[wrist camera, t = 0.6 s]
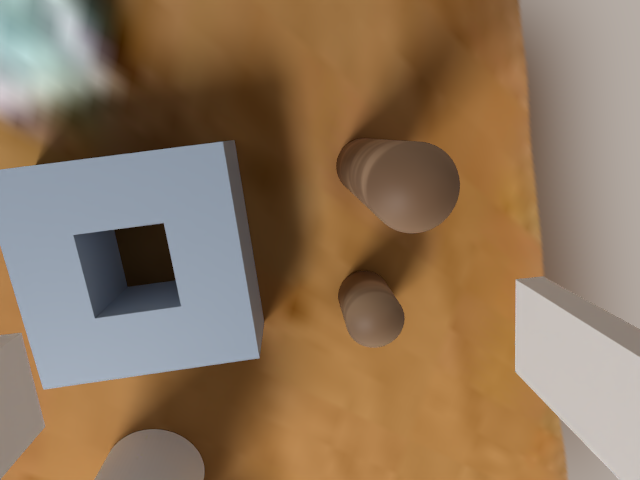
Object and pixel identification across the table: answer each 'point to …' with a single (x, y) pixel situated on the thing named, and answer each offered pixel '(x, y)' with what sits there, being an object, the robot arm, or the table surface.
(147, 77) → the table surface
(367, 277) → the short dowel
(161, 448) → the cup
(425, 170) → the long dowel
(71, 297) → the socket block
